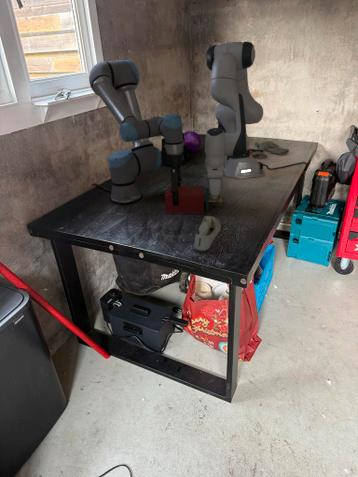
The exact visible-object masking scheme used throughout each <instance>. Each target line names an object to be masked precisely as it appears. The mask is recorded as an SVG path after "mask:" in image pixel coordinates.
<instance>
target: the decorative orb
mask: <svg viewBox="0 0 358 477" xmlns="http://www.w3.org/2000/svg"><path fill="white" fill-rule="evenodd" d="M183 133H184V138H185V145H186V152H187V154H194V153H196V152H197V151H198V150H199V149H200V147H201V145H202V140H201V137H200V135H199V134H198V133H197V132H195V131H192V130H187V131H185V132H183Z"/></svg>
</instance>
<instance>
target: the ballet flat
mask: <svg viewBox="0 0 358 477" xmlns="http://www.w3.org/2000/svg"><path fill="white" fill-rule="evenodd" d="M221 229H222V225H221V222H220V220H219V219H218V218H216V217H215V216H213V215H212V216H211V215H205V216H204V217H203V219H202V221H201V223H200V225H199V228H198V230H197V232H196V233H195V236H194V242H193V248H194V249H195V251H196V252H199V253H200V252H201V253H205V252H207V251H208V250H209V249H210V248H211V246H212V244H213V242H214V240H215V239H216V238H217V235H218V234H219V233H220V232H221Z"/></svg>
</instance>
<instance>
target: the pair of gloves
mask: <svg viewBox="0 0 358 477" xmlns="http://www.w3.org/2000/svg"><path fill="white" fill-rule="evenodd" d="M254 147H255V148H252V147H248V149H249V150H251V151H252V152H253V154H252V155H250V156H252V157H253V158H254V159H255V158H257V157H263V158H268V155H267V154H266V153H264V152H265V151H266V152H269V153H273V154H275V155H278V156H283V155H286V154H288V153H289V152H290V149H289V148H282V147H280V145H278V144H277V143H275V142H273V141H271V140H268V141H263V142H261V143H259V142H258V141H256V142H255V143H254Z"/></svg>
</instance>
